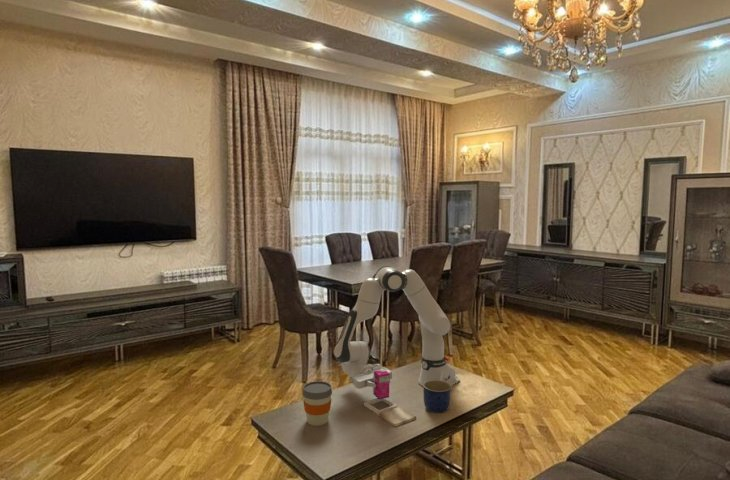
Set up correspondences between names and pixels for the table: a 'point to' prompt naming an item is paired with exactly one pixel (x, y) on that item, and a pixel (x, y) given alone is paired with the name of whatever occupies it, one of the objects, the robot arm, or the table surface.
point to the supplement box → (381, 384)
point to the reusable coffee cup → (317, 402)
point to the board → (397, 416)
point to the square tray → (393, 406)
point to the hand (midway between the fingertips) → (382, 383)
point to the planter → (436, 395)
